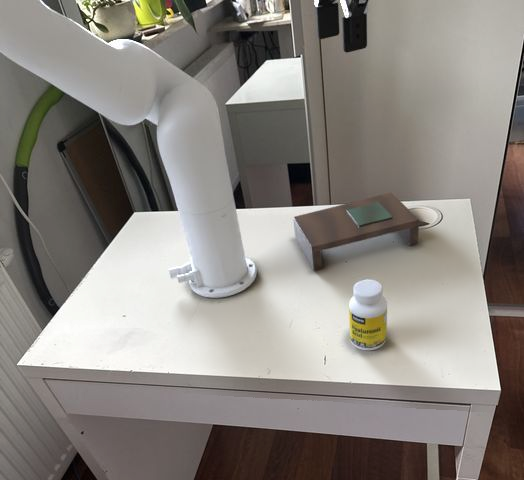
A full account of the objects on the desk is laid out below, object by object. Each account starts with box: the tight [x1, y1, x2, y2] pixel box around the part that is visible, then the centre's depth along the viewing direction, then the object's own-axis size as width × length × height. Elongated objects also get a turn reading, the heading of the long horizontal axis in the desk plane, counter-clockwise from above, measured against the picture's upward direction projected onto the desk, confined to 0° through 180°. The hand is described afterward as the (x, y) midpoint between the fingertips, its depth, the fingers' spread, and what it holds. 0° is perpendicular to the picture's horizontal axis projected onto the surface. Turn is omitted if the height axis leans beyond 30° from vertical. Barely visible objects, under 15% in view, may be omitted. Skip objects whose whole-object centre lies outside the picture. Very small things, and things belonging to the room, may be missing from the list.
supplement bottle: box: [348, 279, 388, 351], centre depth 76 cm, size 5×5×10 cm
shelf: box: [292, 192, 420, 272], centre depth 98 cm, size 20×12×5 cm, turn 103°
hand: (341, 43), depth 73 cm, fingers open, 9 cm apart
